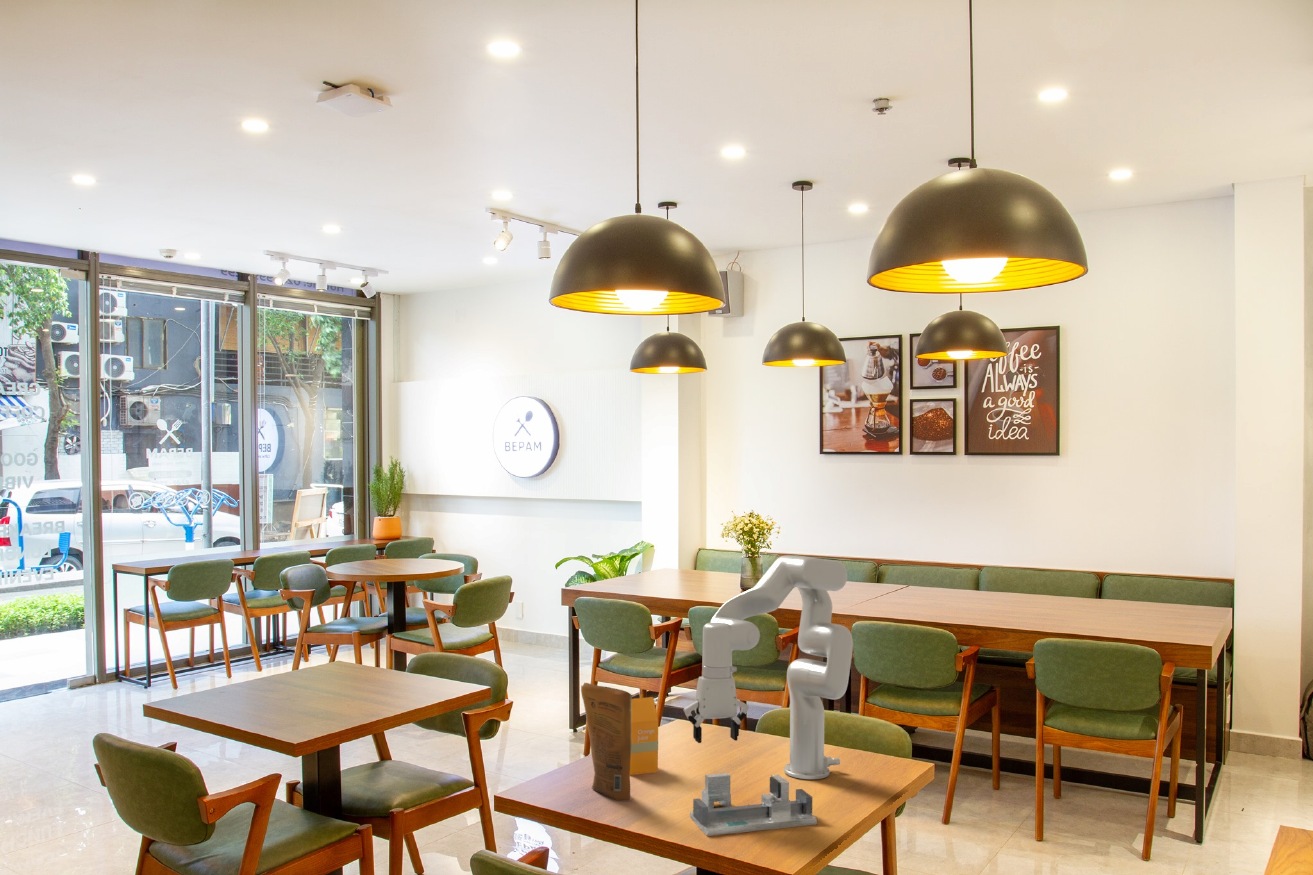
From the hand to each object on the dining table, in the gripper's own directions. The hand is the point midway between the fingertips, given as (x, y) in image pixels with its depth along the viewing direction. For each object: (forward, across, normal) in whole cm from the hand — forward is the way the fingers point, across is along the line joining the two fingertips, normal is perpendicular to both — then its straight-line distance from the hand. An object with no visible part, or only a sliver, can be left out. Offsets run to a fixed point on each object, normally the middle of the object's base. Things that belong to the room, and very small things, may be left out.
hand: (716, 740), depth 237 cm
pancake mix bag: (+17, +24, -16) cm, 33 cm away
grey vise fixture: (+16, -5, +12) cm, 21 cm away
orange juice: (+17, +11, -33) cm, 38 cm away
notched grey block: (+16, 0, 0) cm, 16 cm away
